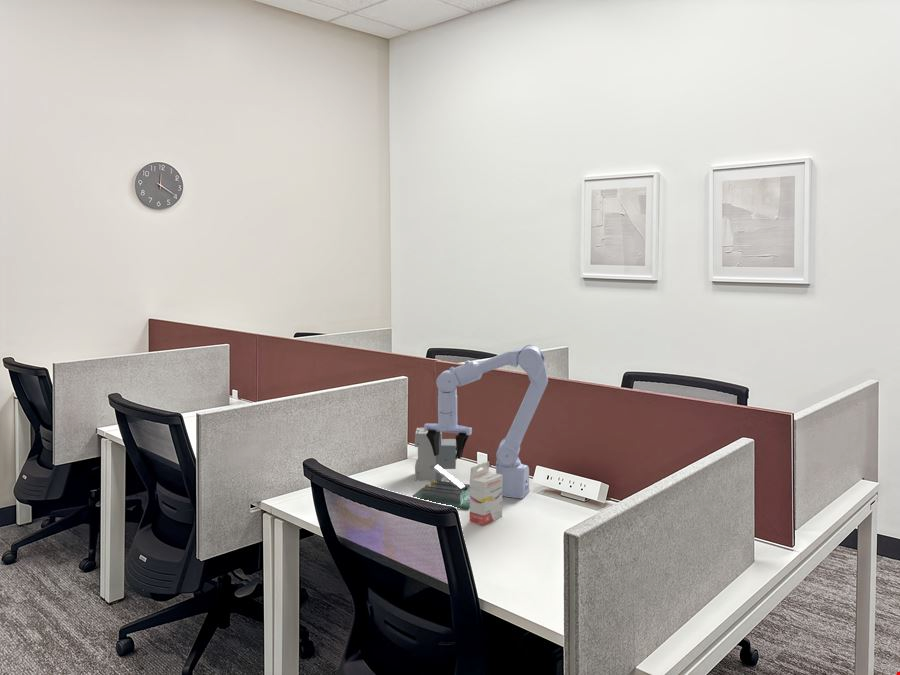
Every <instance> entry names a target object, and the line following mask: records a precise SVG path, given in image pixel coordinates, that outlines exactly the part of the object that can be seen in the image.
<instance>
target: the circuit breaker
mask: <svg viewBox="0 0 900 675" xmlns="http://www.w3.org/2000/svg"><path fill="white" fill-rule="evenodd" d="M427 433H428V431H424V427H416V430H415V433H414V435H415V436H414V447H415V448H417V458H416V459H415V460H416V462H415V464H414V481H415V482H416V481H420V482H423V481H424V482H425V481H427V482H428V481H429V482H431V481H432V480H438V481H443V480H442V478H443V476H441V475H440V474H439V473H438V472H436V471H435V470H434V467H435V466H437V465H439V466H440V467H441V468H442V469H444V470H456V465H457V460H458V458H457V442H456V438H443V432H440V437H439V454H438V455H437V456H434V453H433V449H432V446H431V443H430V441H429V439H428V437H427V435H426V434H427Z"/></svg>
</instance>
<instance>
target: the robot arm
mask: <svg viewBox="0 0 900 675" xmlns="http://www.w3.org/2000/svg"><path fill="white" fill-rule="evenodd" d="M546 364H547V363H546V359H545V355H544V354H543V352H542V351H541V348H539V346H537V345H535V344H527V345H525V346H524V347H522V346H518V347H516V348H513V349H510V350H507V351H505V352H503V353H500V354H498V355H496V356H493V357H490V358H487V359H486V360H483V361H481V362H477V361H475V360H469V359H468V360H466V361H464V363H463V364H462V365H458V366H456V367H454V366H451V367H450V368H449V369H447V370H443V371H442V372H441V373H440V374H439V375H438V376H437V378H436V380H435V381H436V382H435V384H436V388H437V390H438V391H437V394H438V395H437V423H428V422H427V423H424V424H423V428H424V431H428V433H427V434H426V435H427V437H428V439H429V441H430V443H431V446H432V449H433V453H434V456H437V455H438V454H439V437H440V432H442V433H449V434H457V435H455V439H456V447H457V460H458V459H459V460H460V459H461V458H463V452H464V449H465V446H466V443H467V441H468V439H469V437H470V436H471V435H473V427H470V426H464V425H461V424H460V425H459V424H458V392H457V387H463V386H465V385H469V384H471V383H473V382H476V381H479V380H481V378H482V377H483V374H485V373H488V372H490V371H491V372H492V371H493V370H496V369H500V368H503V367H504V366H505V367H506V366H511V367H515V368H517V367H518V366H519V367H520V368H521V369H522V370H523V371H524V372H525V373H526V376H527V377H528V379H529V381H530V382H529V383H530V384H529V386H528V388H527V390H526V393H525V395H524V397H523V399H522V402H521V404H520V406H519V407H518V411H517V413H516V415H515V417H514V418H513V422H512V424H511V426H510V428H509V430H508V432H507V435H506V436H505V437H504V438H503V439H501V440H500V442H499V444H498V448H497V450H496V453H495V454H496V455H495V457H496V461H495V473H496V474H501V475H503V480H502V497H507V498H514V499H523V498H524V497H525V496H526V495H527V494H528V493H529V492H530V491H531V489H530V468H529V465H527V464H523V463H522V462H521V460H520V457H519V454H520V451H521V444H522V442H523V439H524V436H525V435H526V432H527V430H528V428H529V425H531V424H530V423H531V421H532V419H533V416H535V413H536V410H537V408H538V406H539V403H540V402H541V399H542V397H543V395H544V392H545V391H546V388H547V386H548V382H549V377H548V370H547V365H546Z"/></svg>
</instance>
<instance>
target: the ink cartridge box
mask: <svg viewBox="0 0 900 675" xmlns="http://www.w3.org/2000/svg"><path fill="white" fill-rule="evenodd" d="M480 468H481V470H480ZM489 470H490V461H485V462H483V463H480V464H478V465H475V466H474V465H473V466H471V468H470V472H469V473H470V475H469V485H470V508H469V522H470V523H474V524H477V525H478V526H479V525H480V526H482V527H483V526H486V525H488V524H491V523H492V522H494V521H496V520H498V519H500V517H501V518H503V496H502V480H503V475H501V474H496V472H491V471H489Z"/></svg>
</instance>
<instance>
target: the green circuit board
mask: <svg viewBox="0 0 900 675" xmlns="http://www.w3.org/2000/svg"><path fill="white" fill-rule="evenodd" d="M462 484H463V485H465V486H466V488H465V489H464V490H459V489H458V488H457V487H456V486H454V485H453V484H452V483H450V482H449V481H446V480H445V481H443V480H441V481H438V480H432V481H430V484H428V483H427V484H425V485H424V486H423V487H422V488H421V489H419V490H418V491H416V492H415V493H413V495H411V496H413V497H417V498H420V499H424V500H429V501H432V502H436V503H441V504H446V505H452V506H454V507H457V508H460V509H459V510H464V511H465V510H467V511H469V510H470V483H469V484H467V483H462ZM457 508H456V509H457Z"/></svg>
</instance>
